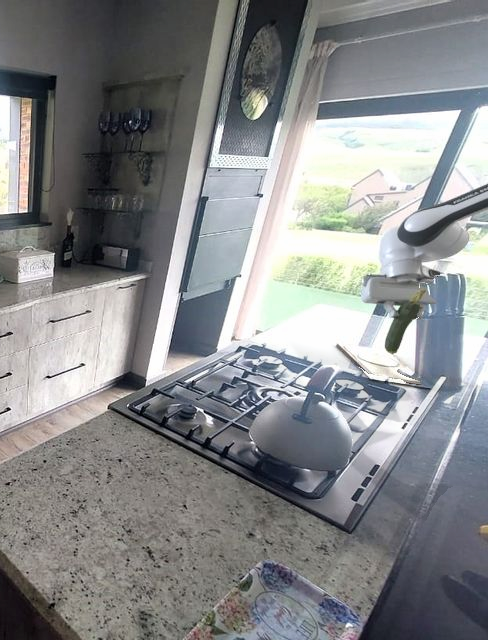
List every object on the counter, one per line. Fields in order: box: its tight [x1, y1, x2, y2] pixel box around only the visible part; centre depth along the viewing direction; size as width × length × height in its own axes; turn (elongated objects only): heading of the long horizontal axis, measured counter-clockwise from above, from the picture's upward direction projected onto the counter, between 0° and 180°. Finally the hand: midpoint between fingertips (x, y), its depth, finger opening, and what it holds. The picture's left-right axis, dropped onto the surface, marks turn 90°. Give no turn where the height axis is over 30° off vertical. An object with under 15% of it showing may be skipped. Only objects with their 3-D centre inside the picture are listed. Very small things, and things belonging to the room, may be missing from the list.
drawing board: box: [335, 343, 422, 385], centre depth 125 cm, size 14×26×1 cm, turn 160°
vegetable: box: [384, 288, 426, 355], centre depth 118 cm, size 4×4×20 cm
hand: (406, 318), depth 117 cm, fingers closed on vegetable, 4 cm apart
